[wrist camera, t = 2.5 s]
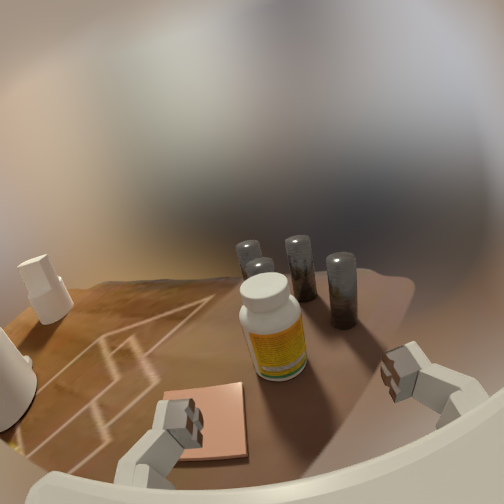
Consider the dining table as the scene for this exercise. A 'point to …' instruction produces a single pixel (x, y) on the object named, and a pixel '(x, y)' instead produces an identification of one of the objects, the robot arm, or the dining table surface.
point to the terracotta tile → (217, 421)
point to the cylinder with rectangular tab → (45, 289)
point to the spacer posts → (309, 275)
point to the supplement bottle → (272, 327)
